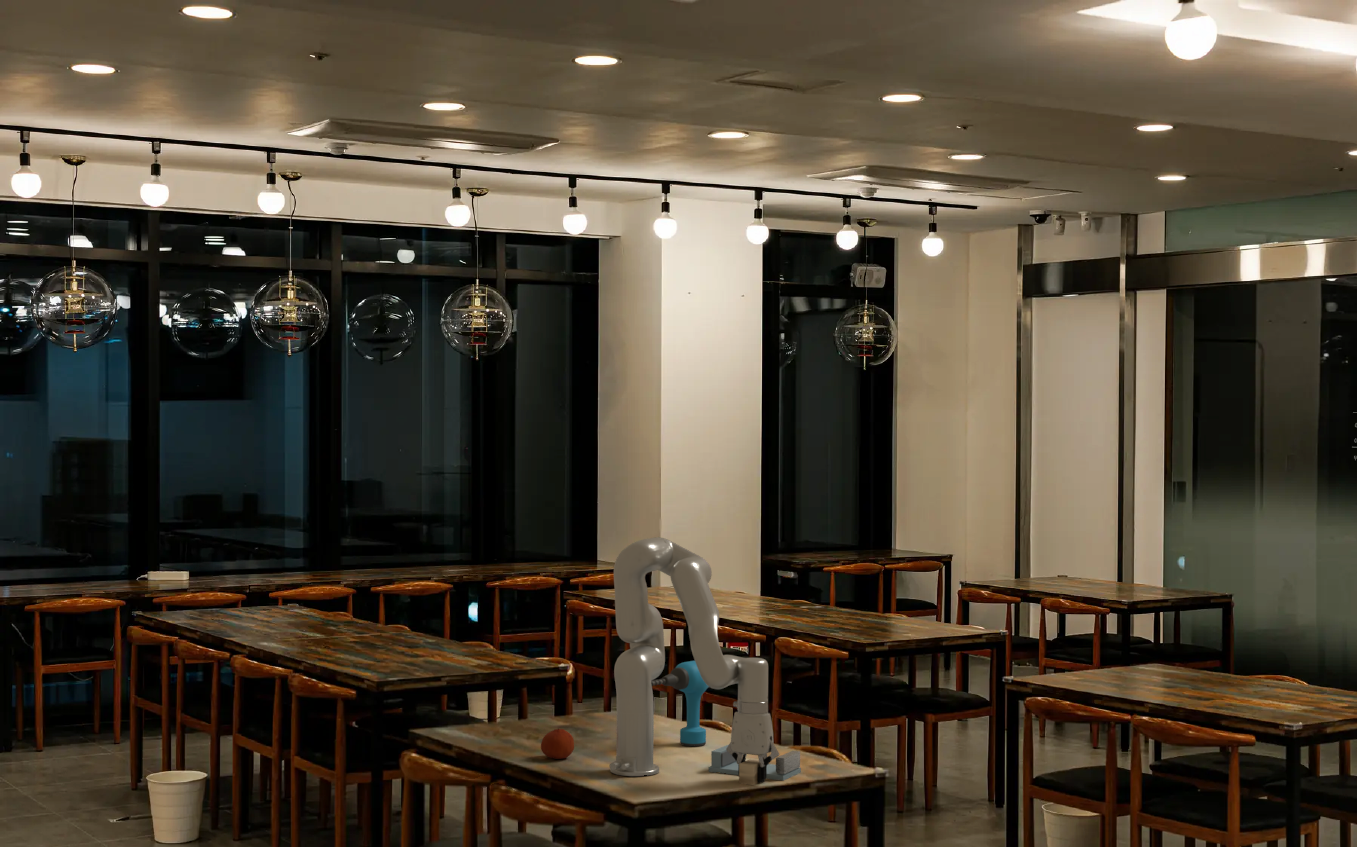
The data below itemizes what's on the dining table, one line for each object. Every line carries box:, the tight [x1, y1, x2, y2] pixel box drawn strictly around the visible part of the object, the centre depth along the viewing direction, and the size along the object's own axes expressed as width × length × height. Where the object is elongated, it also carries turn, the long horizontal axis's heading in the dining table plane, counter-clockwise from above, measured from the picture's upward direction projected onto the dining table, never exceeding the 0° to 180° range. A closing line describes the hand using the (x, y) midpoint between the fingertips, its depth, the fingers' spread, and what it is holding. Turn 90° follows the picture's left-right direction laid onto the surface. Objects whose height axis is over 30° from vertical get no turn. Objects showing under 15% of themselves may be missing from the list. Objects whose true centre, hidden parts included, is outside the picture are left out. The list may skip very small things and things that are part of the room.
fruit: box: [540, 728, 575, 760], centre depth 424 cm, size 9×9×8 cm
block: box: [738, 758, 760, 786], centre depth 398 cm, size 7×4×5 cm, turn 152°
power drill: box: [651, 660, 710, 747], centre depth 440 cm, size 28×9×23 cm, turn 139°
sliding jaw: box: [775, 750, 801, 774], centre depth 405 cm, size 10×2×4 cm, turn 152°
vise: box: [708, 744, 802, 782], centre depth 409 cm, size 11×21×5 cm, turn 62°
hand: (752, 779), depth 398 cm, fingers open, 4 cm apart
